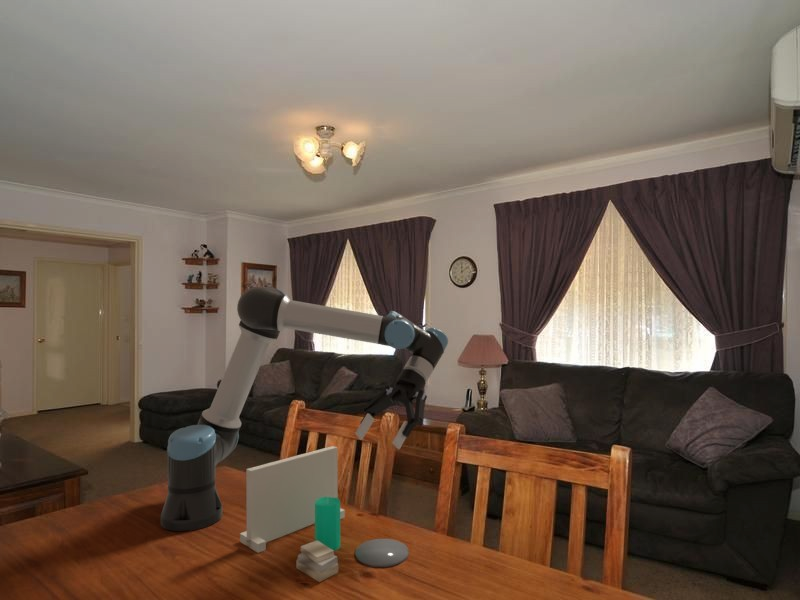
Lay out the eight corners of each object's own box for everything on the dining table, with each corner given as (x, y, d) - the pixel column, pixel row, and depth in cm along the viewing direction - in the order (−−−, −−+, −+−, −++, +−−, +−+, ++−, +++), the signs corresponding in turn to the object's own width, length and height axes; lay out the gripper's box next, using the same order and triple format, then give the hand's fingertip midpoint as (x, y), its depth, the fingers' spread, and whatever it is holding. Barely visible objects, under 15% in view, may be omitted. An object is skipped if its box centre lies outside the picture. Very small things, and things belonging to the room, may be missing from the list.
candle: (335, 553, 116) (335, 500, 116) (311, 550, 118) (310, 498, 118) (344, 541, 122) (343, 490, 122) (320, 538, 123) (320, 489, 123)
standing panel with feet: (240, 541, 122) (239, 466, 122) (325, 509, 141) (325, 443, 141) (258, 552, 117) (257, 473, 117) (344, 517, 136) (344, 449, 136)
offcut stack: (294, 568, 110) (294, 547, 110) (315, 559, 114) (315, 539, 114) (318, 583, 104) (318, 561, 104) (339, 572, 108) (339, 551, 108)
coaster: (344, 554, 116) (344, 551, 116) (382, 536, 125) (382, 533, 125) (381, 573, 108) (381, 570, 108) (419, 552, 116) (419, 550, 116)
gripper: (456, 389, 136) (420, 459, 125) (389, 380, 153) (351, 440, 142) (444, 371, 132) (405, 441, 121) (376, 364, 149) (336, 425, 138)
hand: (376, 441), depth 131 cm, fingers open, 13 cm apart
